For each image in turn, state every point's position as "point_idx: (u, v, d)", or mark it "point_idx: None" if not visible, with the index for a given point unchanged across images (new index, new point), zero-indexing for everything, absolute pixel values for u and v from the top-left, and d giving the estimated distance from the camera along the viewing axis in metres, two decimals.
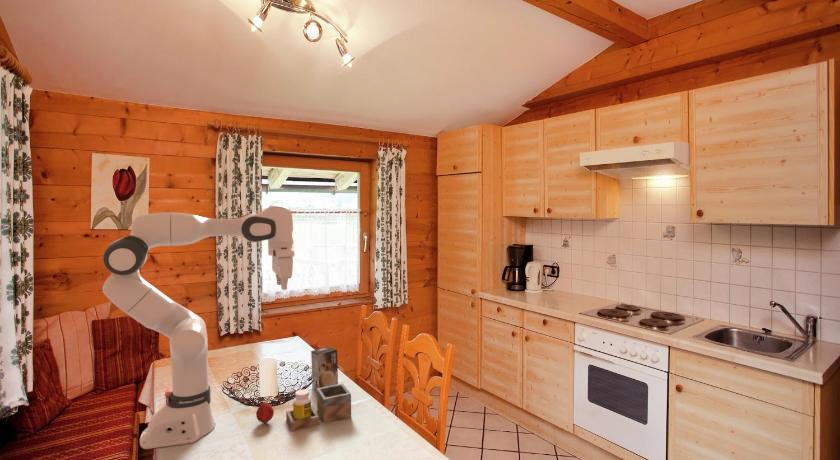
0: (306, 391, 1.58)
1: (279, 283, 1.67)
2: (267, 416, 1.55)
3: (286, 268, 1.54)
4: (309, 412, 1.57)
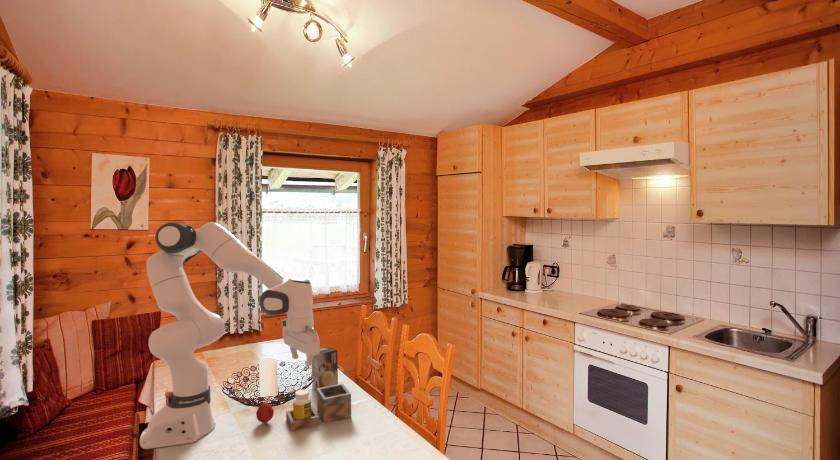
0: (306, 391, 1.58)
1: None
2: (267, 416, 1.55)
3: None
4: (309, 412, 1.57)
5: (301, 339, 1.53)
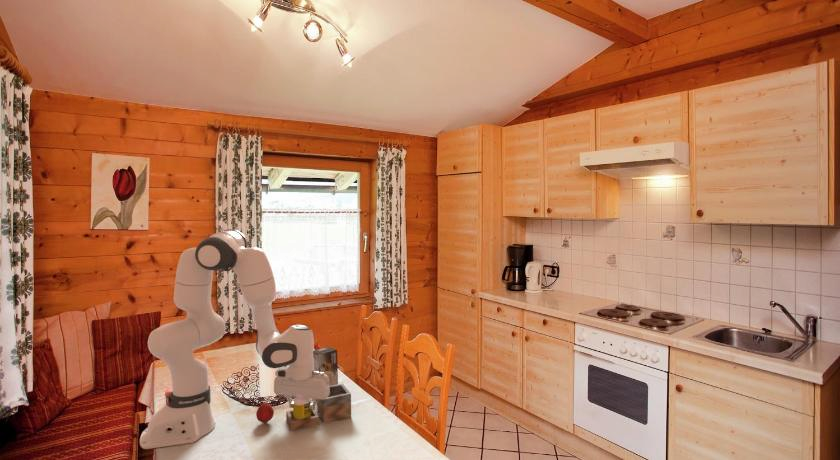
0: None
1: None
2: (267, 416, 1.55)
3: None
4: (309, 412, 1.57)
5: (307, 385, 1.55)
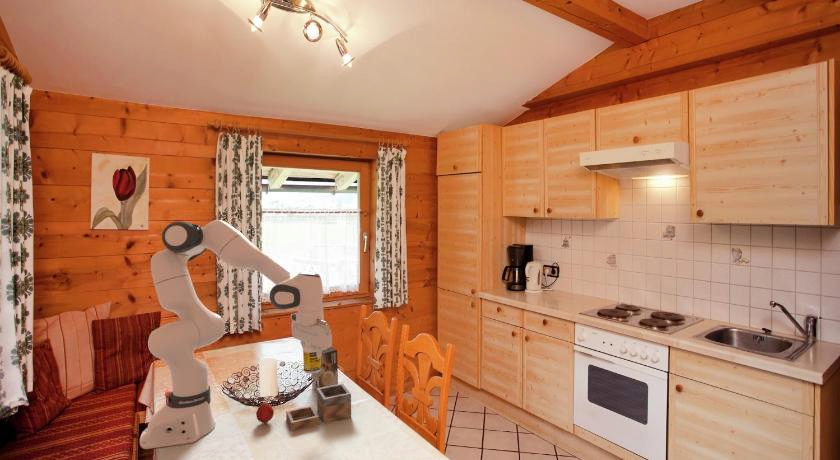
0: None
1: None
2: (267, 416, 1.55)
3: None
4: (316, 362, 1.56)
5: (312, 332, 1.54)
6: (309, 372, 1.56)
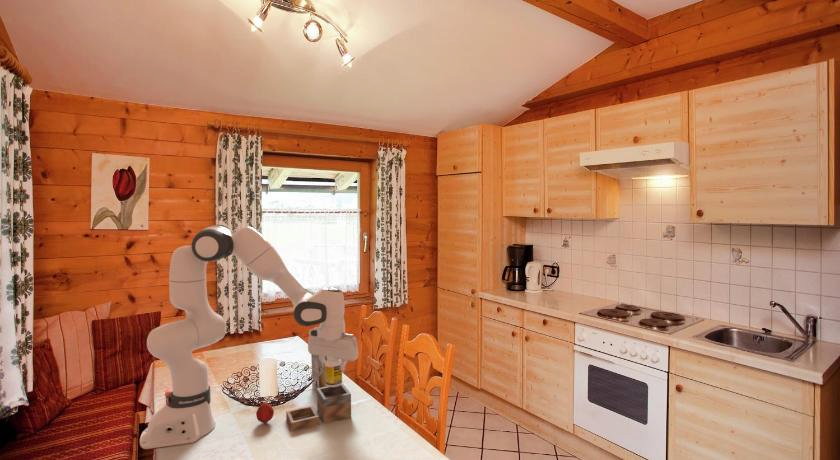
0: None
1: None
2: (267, 416, 1.55)
3: None
4: (339, 375, 1.61)
5: (337, 346, 1.59)
6: (333, 385, 1.59)
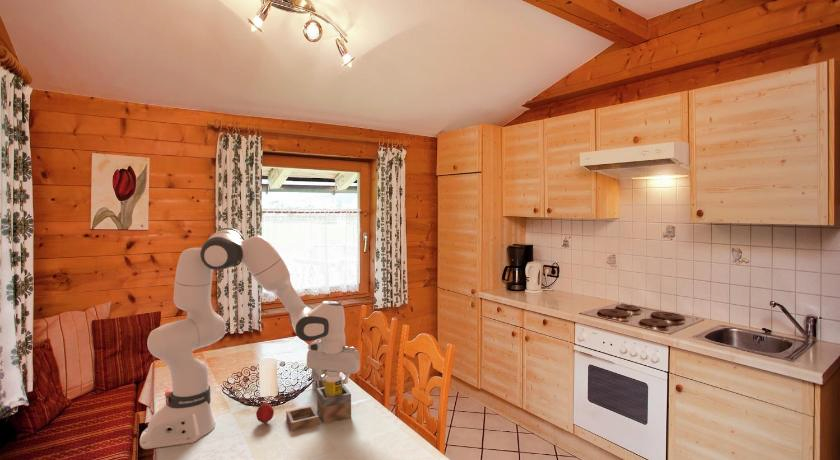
0: None
1: None
2: (267, 416, 1.55)
3: None
4: (340, 390, 1.61)
5: (338, 359, 1.59)
6: None
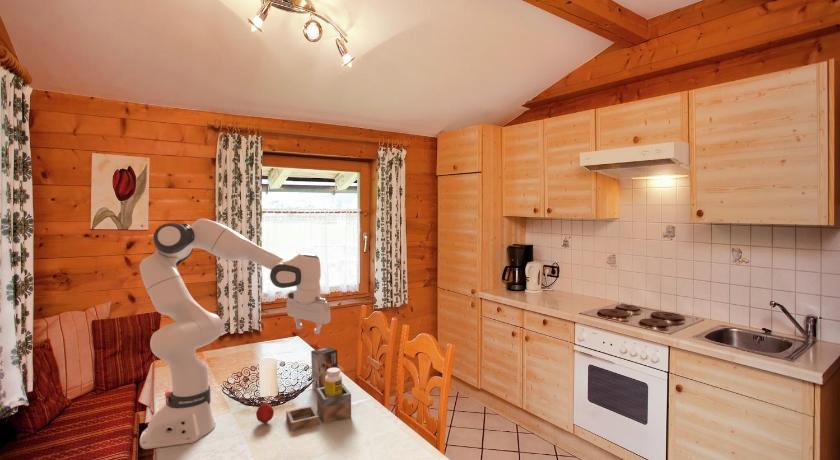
0: (337, 369, 1.63)
1: None
2: (267, 416, 1.55)
3: None
4: (340, 390, 1.61)
5: (311, 309, 1.66)
6: None
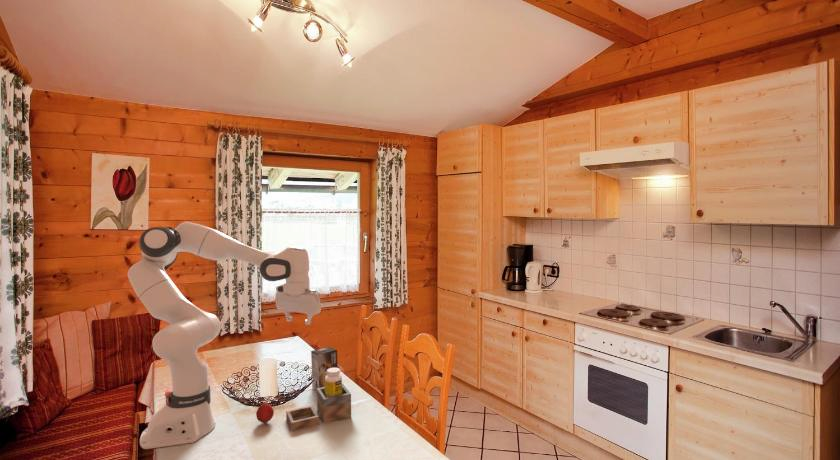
0: (337, 369, 1.63)
1: None
2: (267, 416, 1.55)
3: None
4: (340, 390, 1.61)
5: (301, 301, 1.70)
6: None
